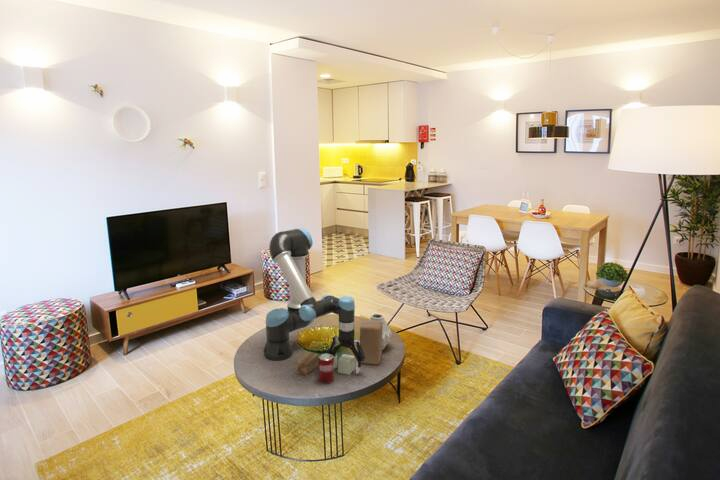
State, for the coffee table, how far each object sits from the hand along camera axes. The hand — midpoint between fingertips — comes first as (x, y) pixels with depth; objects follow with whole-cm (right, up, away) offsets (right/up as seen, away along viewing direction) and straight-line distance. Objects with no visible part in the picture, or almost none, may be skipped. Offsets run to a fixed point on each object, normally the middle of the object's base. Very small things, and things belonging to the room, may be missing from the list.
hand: (346, 370), depth 227 cm
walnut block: (-19, 0, +1) cm, 19 cm away
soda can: (-9, -2, -9) cm, 13 cm away
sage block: (0, 0, 0) cm, 0 cm away
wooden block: (+12, +2, +11) cm, 17 cm away
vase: (+16, +5, +24) cm, 29 cm away
